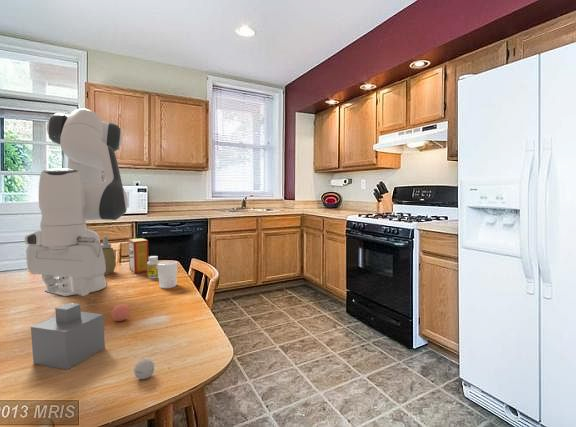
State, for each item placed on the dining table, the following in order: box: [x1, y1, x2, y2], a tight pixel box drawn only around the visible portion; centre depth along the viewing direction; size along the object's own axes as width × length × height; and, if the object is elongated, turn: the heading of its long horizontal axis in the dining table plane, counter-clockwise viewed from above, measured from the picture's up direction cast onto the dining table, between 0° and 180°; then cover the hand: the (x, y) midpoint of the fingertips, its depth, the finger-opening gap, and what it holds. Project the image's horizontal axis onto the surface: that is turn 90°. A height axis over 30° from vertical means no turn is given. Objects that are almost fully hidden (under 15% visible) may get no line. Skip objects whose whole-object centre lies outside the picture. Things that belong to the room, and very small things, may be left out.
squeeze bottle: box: [101, 236, 117, 275], centre depth 151 cm, size 8×8×18 cm
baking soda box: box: [128, 238, 150, 275], centre depth 156 cm, size 10×6×16 cm
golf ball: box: [133, 358, 155, 380], centre depth 67 cm, size 4×4×4 cm
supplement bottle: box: [146, 255, 160, 279], centre depth 145 cm, size 5×5×10 cm
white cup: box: [157, 260, 178, 289], centre depth 131 cm, size 8×8×10 cm
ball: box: [110, 304, 131, 322], centre depth 96 cm, size 5×5×5 cm
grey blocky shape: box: [30, 302, 106, 370], centre depth 76 cm, size 10×10×12 cm
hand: (68, 293), depth 75 cm, fingers open, 8 cm apart
